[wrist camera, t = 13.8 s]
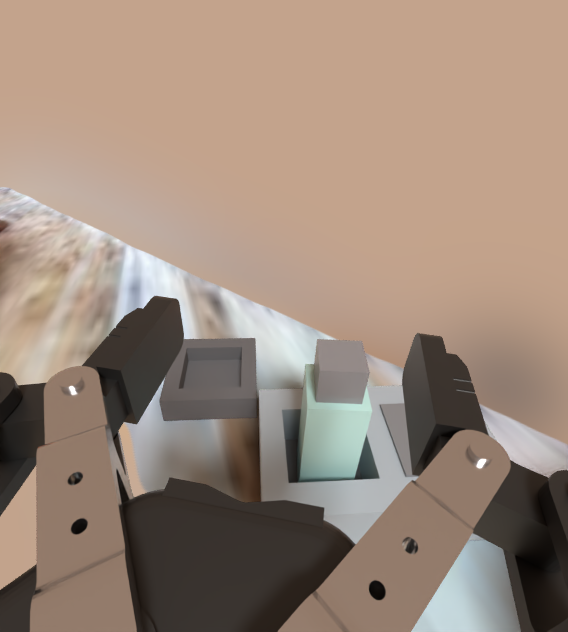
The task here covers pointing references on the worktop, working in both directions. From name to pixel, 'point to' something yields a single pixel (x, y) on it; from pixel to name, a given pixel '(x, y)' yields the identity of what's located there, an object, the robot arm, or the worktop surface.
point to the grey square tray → (211, 381)
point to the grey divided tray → (373, 468)
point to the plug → (333, 412)
